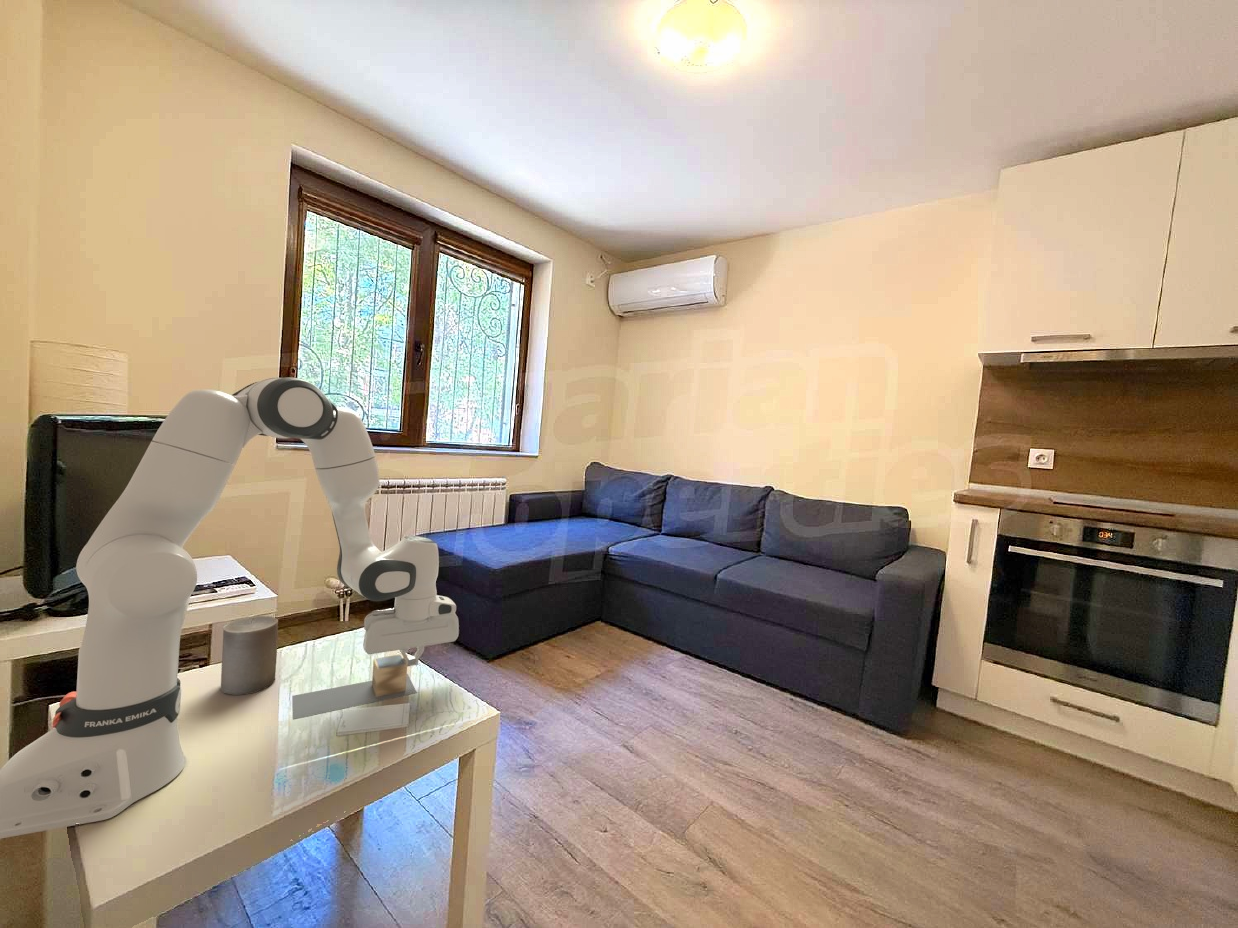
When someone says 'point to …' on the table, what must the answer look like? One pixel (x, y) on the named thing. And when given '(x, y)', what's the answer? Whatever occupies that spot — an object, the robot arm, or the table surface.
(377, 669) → the oak block
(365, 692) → the rubber mat
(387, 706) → the hard drive
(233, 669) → the pillar candle
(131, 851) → the table surface
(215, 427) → the robot arm
